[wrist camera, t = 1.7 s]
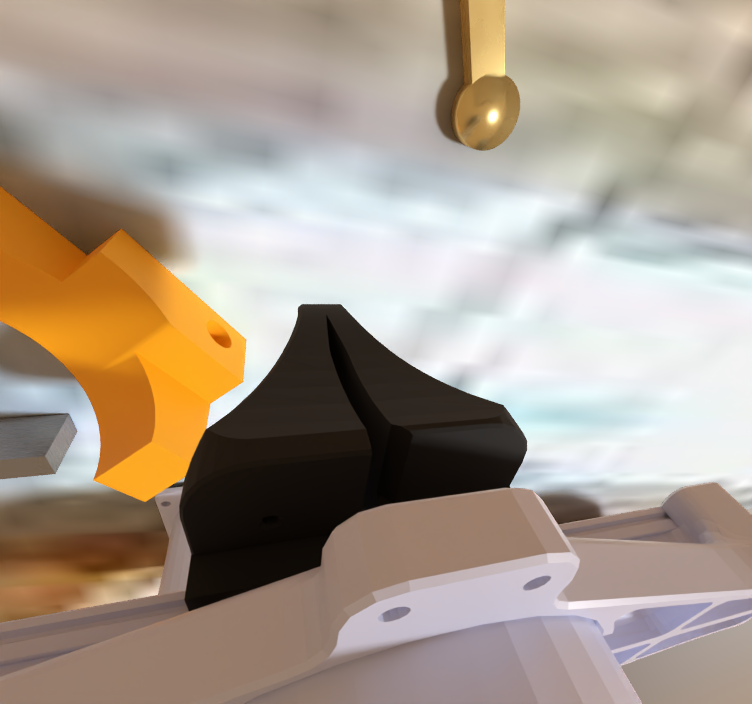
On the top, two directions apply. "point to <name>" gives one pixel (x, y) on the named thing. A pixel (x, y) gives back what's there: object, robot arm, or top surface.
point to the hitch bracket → (34, 444)
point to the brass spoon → (484, 78)
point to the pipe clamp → (121, 344)
